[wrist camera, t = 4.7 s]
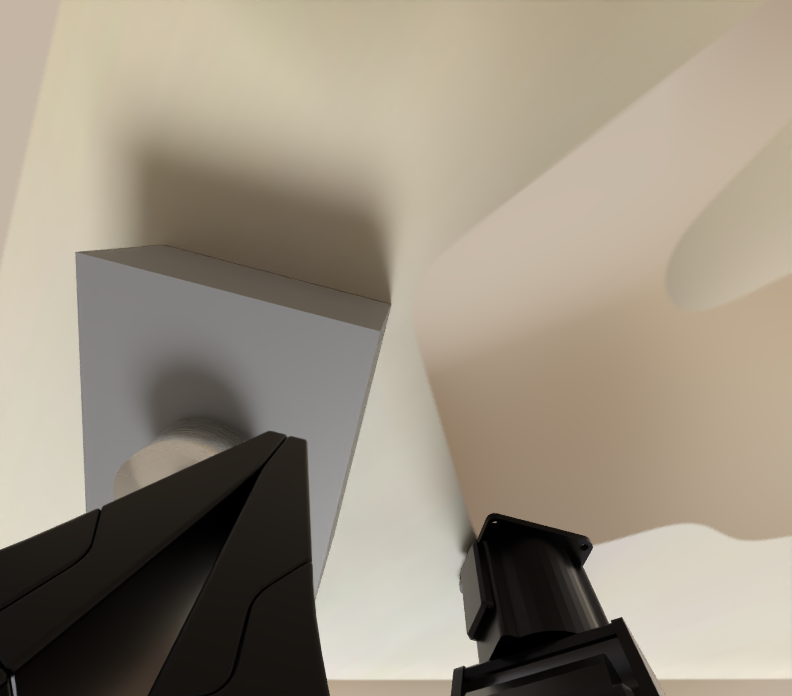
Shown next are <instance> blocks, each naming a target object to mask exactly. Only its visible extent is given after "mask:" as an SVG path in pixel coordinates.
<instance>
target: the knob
mask: <svg viewBox="0 0 792 696" xmlns="http://www.w3.org/2000/svg"><path fill="white" fill-rule="evenodd" d="M245 441H247V440H246V439H245V438H244V437H243V436H242V435H240V434H239V433H238V432H237V431H235V430H234V429H232V428H230V427H229V426H227V425H225V424H222V423H220V422H217V421H214V420H209V419H203V418H191V419H185V420H182V421H179V422H176V423H174V424H173V425H171V426H170V427H168V428H167V429H166V430H165V431H163V432H162V433H161V434H159V435H158V436H157V437H156V438H154V439H153V440H152V441H151V442H149V443H148V444H147V445H146V446H144V447H143V448H142V449H141V450H139V451H138V452H137V453H136V454H134V455H133V456H132V457H131V458H129V459H128V460H127V461H126V462H125V463H124V464H123V465H122V466H121V467H120V468H119V470H118V471H117V474H116V476H115V479H114V484H113V493H114V499H115V500H117V499H119V498H121V497H123V496H125V495H128V494H130V493H132V492H134V491H136V490H139V489H141V488H143V487H145V486H147V485H150V484H152V483H154V482H156V481H158V480H161V479H163V478H165V477H167V476H170V475H172V474H174V473H176V472H178V471H181V470H183V469H185V468H187V467H189V466H192V465H194V464H196V463H198V462H200V461H203V460H205V459H207V458H209V457H211V456H214V455H216V454H218V453H220V452H222V451H225V450H227V449H229V448H231V447H234V446H236V445H238V444H240V443H242V442H245Z"/></svg>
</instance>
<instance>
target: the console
mask: <svg viewBox="0 0 792 696" xmlns="http://www.w3.org/2000/svg"><path fill="white" fill-rule="evenodd" d="M75 253H76V278H77V302H78V326H79V351H80V375H81V400H82V424H83V448H84V473H85V497H86V513H88V512H90V511H92V510H94V509H97V508H98V509H100V510H101V508H102V506H103V505H106V504H108V503H110V502H112V501H114V500H115V499H114V493H113V484H114V479H115V476H116V474H117V471H118V470H119V468H120V467H121V466H122V465H123V464H124V463H125V462H126V461H127V460H128V459H129V458H131V457H132V456H133V455H134V454H136V453H137V452H138V451H139V450H141V449H142V448H143V447H144V446H146V445H147V444H148V443H149V442H151V441H152V440H153V439H154V438H156V437H157V436H158V435H159V434H161V433H162V432H163V431H165V430H166V429H167V428H168V427H170V426H171V425H173V424H174V423H176V422H179V421H182V420H185V419H191V418H203V419H209V420H214V421H217V422H220V423H222V424H225V425H227V426H229V427H230V428H232V429H234V430H235V431H237V432H238V433H239V434H240V435H242V436H243V437H244V438H245V439H246V440H249V439H251V438H253V437H256V436H258V435H260V434H262V433H264V432H267V431H274V432H278V433H282V434H286V435H287V437H289V436H294V437H298V438H302V439H305V440H307V443H308V467H309V491H310V515H311V540H312V564H313V583H314V596H315V599H316V595H317V592H318V588H319V585H320V582H321V578H322V575H323V571H324V568H325V564H326V561H327V558H328V554H329V551H330V547H331V544H332V540H333V537H334V533H335V529H336V525H337V521H338V517H339V513H340V509H341V505H342V501H343V496H344V492H345V488H346V484H347V480H348V476H349V472H350V468H351V464H352V460H353V456H354V452H355V448H356V444H357V440H358V436H359V432H360V428H361V424H362V420H363V416H364V412H365V408H366V404H367V400H368V396H369V392H370V388H371V384H372V380H373V376H374V372H375V368H376V364H377V360H378V356H379V352H380V348H381V344H382V340H383V336H384V332H385V328H386V324H387V320H388V316H389V312H390V308H391V304H388V303H384V302H380V301H376V300H372V299H368V298H365V297H361V296H357V295H353V294H349V293H345V292H342V291H338V290H334V289H330V288H326V287H322V286H319V285H315V284H311V283H307V282H303V281H299V280H296V279H292V278H288V277H284V276H280V275H277V274H273V273H269V272H265V271H261V270H257V269H254V268H250V267H246V266H242V265H238V264H234V263H231V262H227V261H223V260H219V259H215V258H211V257H208V256H204V255H200V254H196V253H192V252H188V251H185V250H181V249H177V248H173V247H169V246H166V245H155V246H143V247H131V248H119V249H107V250H94V251H82V252H75Z"/></svg>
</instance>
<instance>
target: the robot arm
mask: <svg viewBox="0 0 792 696" xmlns="http://www.w3.org/2000/svg"><path fill="white" fill-rule="evenodd" d="M494 521H496V522H497V523H492V522H494ZM583 544H584V545H583ZM592 548H593V546H592V543H591V542H590V539H589V538H588V537H586V536H583V535H579V534H575V533H571V532H567V531H563V530H560V529H556V528H552V527H548V526H544V525H540V524H536V523H532V522H528V521H525V520H521V519H516V518H513V517H509V516H505V515H501V514H497V513H493V514H490V515H488V516H487V518H486V520H485V522H484V525H483V527H482V530H481V532H480V534H479V537H478V539H477V541H475V542H473V543H472V545H471V547H470V550H469V552H468V554H467V557H466V559H465V562H464V564H463V566H462V569H461V580H460V582H459V586H460V591H461V593H462V594H463V600H464V610H465V620H466V630H467V635H468V636H469V638H470V639H471V640H474V641H477V649H478V657H479V664H476V665H473V666H470V667H467V668H466V667H465V666H462V667H459V668H456V669H454V672H453V681H452V690H451V696H666V695H665V693H664V691H663V689H662V687H661V685H660V684H659V682H658V680H657V678H656V676H655V674H654V672H653V671H652V669H651V667H650V665H649V664H648V662H647V660H646V658H645V657H644V655H643V653H642V651H641V650H640V648H639V646H638V644H637V643H636V641H635V639H634V637H633V635H632V634H631V632H630V630H629V628H628V627H627V625H626V623H625V621H624V620H623V618H622V617H621V618H617V619H614V620H611V622H612V623H610V624H609V622H608V620H607V618H606V616H605V614H604V611H603V609H602V607H601V605H600V603H599V601H598V598H597V596H596V594H595V592H594V590H593V588H592V585H591V583H590V581H589V579H588V577H587V575H586V572H585V570H584V568H583V565H584V563H585V561H586V560H587V558H588V556H589V554H590V553H591V551H592ZM0 696H330V694H329V690H328V684H327V678H326V673H325V667H324V662H323V657H322V651H321V645H320V638H319V631H318V625H317V618H316V608H315V596H314V583H313V564H312V540H311V515H310V491H309V467H308V443H307V440H305V439H302V438H298V437H294V436H289V437H287V435H286V434H282V433H278V432H274V431H267V432H264V433H262V434H260V435H258V436H256V437H253V438H251V439H249V440H247V441H245V442H242V443H240V444H238V445H236V446H234V447H231V448H229V449H227V450H225V451H222V452H220V453H218V454H216V455H214V456H211V457H209V458H207V459H205V460H203V461H200V462H198V463H196V464H194V465H192V466H189V467H187V468H185V469H183V470H181V471H178V472H176V473H174V474H172V475H170V476H167V477H165V478H163V479H161V480H158V481H156V482H154V483H152V484H150V485H147V486H145V487H143V488H141V489H139V490H136V491H134V492H132V493H130V494H128V495H125V496H123V497H121V498H119V499H117V500H114V501H112V502H110V503H108V504H106V505H103V506H102V508H101V510H100V509H98V508H97V509H94V510H92V511H90V512H88V513H85V514H83V515H81V516H79V517H76V518H74V519H72V520H70V521H68V522H65V523H63V524H61V525H58V526H56V527H54V528H51V529H49V530H47V531H44V532H42V533H40V534H37V535H35V536H33V537H31V538H28V539H26V540H23V541H21V542H18V543H16V544H13V545H11V546H8V547H6V548H3V549H1V550H0Z"/></svg>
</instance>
